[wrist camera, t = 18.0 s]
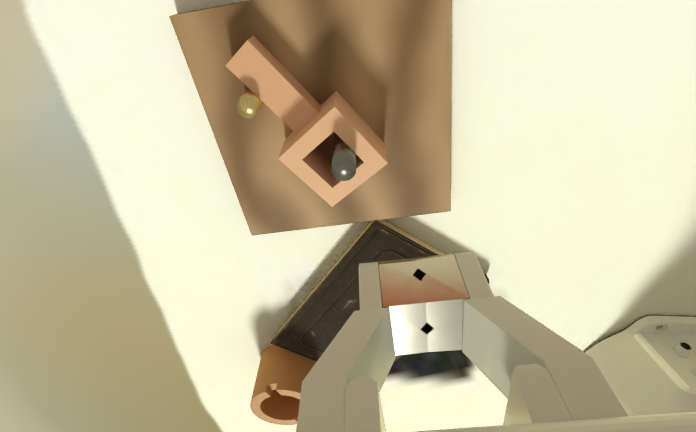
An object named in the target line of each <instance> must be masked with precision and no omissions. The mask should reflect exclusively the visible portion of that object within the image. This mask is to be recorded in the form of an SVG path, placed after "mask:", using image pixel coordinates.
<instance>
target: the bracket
mask: <svg viewBox="0 0 696 432" xmlns="http://www.w3.org/2000/svg"><path fill="white" fill-rule="evenodd" d="M316 362H317V361H314V360H312V359H309V358H307V357H304V356H301V355H299V354H296V353H294V352H291V351H288V350H286V349H283V348H281V347H278V346H275V345H272V346H270V347H268V348H267V349H265V350H264V352H263V353H262V356H261V360H260V364H259V369H258V373H257V378H256V382H255V386H254V391H253V395H252V400H251V405H250V406H251V410H252V412H253V413H254V414H255V415H256V416H257V417H259V418H260V419H262V420H264V421H267V422H270V423H274V424H280V425H294V424H297V421H298V413H299V404H300V396H301V387H302V381H303V380H304V379H305V377H306V376H307V375H308V373H309V372H310V370H311V369H312V368H313V366H314V365H315V364H316Z"/></svg>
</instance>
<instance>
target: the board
mask: <svg viewBox="0 0 696 432" xmlns="http://www.w3.org/2000/svg"><path fill="white" fill-rule="evenodd" d="M451 10H452V0H251V1H246V2H240V3H235V4H229V5H224V6H218V7H213V8H207V9H201V10H196V11H190V12H185V13H179V14H175V15H172V16H169V17H170V19H171V22H172V25H173V27H174V30H175V32H176V35H177V38H178V40H179V43H180V46H181V48H182V51H183V54H184V56H185V59H186V62H187V64H188V67H189V70H190V72H191V75H192V78H193V80H194V83H195V86H196V88H197V91H198V94H199V96H200V99H201V102H202V104H203V107H204V110H205V112H206V115H207V118H208V120H209V123H210V126H211V128H212V131H213V133H214V136H215V139H216V141H217V144H218V147H219V149H220V152H221V155H222V157H223V160H224V163H225V165H226V168H227V171H228V173H229V176H230V179H231V181H232V184H233V187H234V189H235V192H236V195H237V197H238V200H239V203H240V205H241V208H242V211H243V213H244V216H245V219H246V221H247V224H248V226H249V229H250V232H251V234H252V235H259V234H268V233H276V232H284V231H292V230H300V229H308V228H317V227H325V226H333V225H341V224H349V223H358V222H366V221H374V220H382V219H390V218H398V217H407V216H415V215H423V214H431V213H439V212H447V211H451ZM253 35H254V36H255V37H256V38H257V40H258V41H259V42H260V43H261V44H262V45H263V46H264V47H265V48H266V49H267V50H268V51H269V52H270V53H271V54H272V55H273V56H274V57H275V58H276V59H277V60H278V61H279V62H280V63H281V65H282V66H283V67H284V68H285V69H286V70H287V71H288V72H289V73H290V74H291V75H292V76H293V77H294V78H295V79H296V80H297V81H298V82H299V83H300V84H301V85H302V86H303V87H304V88H305V90H306V91H307V92H308V93H309V94H310V95H311V96H312V97H313V98H314V99H315V100H316V101H317V102H318V103H319V104H320V105H321V104H322V103H324V102H325V101H326V100H327V99H328V98H329V97H330V96H331V95H332V94H333V93H334V92H335V91H337V92H338V93H339V94H340V95H341V96H342V97H343V99H344V100H345V101H346V102H347V103H348V104H349V105H350V106H351V107H352V108H353V109H354V111H355V112H356V113H357V114H358V115H359V116H360V117H361V118H362V119H363V120H364V121H365V123H366V124H367V125H368V126H369V127H370V128H371V129H372V130H373V131H374V132H375V134H376V135H377V136H378V137H379V138H380V139H381V140H382V141H383V142H384V146H385V151H386V156H387V161H388V164H387V165H385V166H384V167H383V168H381V169H380V170H379V171H378V172H376V173H375V174H374V175H372V176H371V177H370V178H369V179H367V180H366V181H365V182H364V183H362V184H361V185H360V186H358V187H357V188H356V189H355V190H353V191H352V192H351V193H349V194H348V195H347V196H346V197H344V198H343V199H342V200H340V201H339V202H338V203H337V204H335V205H334V206H333V207H331V206H330V205H329V204H328V203H327V202H326V201H325V200H324V199H322V198H321V197H320V196H319V195H318V194H317V193H316V192H315V191H313V190H312V189H311V188H310V187H309V186H308V185H307V184H306V183H305V182H303V181H302V180H301V179H300V178H299V177H298V176H297V175H296V174H295V173H293V172H292V171H291V170H290V169H289V168H288V167H287V166H286V165H284V164H283V163H282V162H281V161H280V160H279V159H278V158H279V155H280V152H281V149H282V147H283V144H284V141H285V138H286V137H288V136H289V135H290V134H291V133H292V132H293V130H292V129H291V128H290V127H289V126H288V125H287V124H285V123H284V122H283V121H282V120H281V119H280V118H279V117H278V116H277V115H276V114H275V113H274V112H273V111H272V110H271V109H270V108H269V107H268V106H267V105H266V104H265V103H263V105H262V107H261V108H260V110H259V112H258V113H257V115H256V116H255V117H253V118H245V117H243V116H241V115H240V114H239V113H238V111H237V108H236V104H237V101H238V100H239V99H240V97H241V96H242V95H243V94H244V92H245V91H246V90H247V89H248V87H247V86H246V85H245V84H244V83H243V82H242V81H241V80H240V79H239V78H238V77H236V76H235V75H234V74H233V73H232V72H231V71H230V70H229V69H228V68H227V67H226V64H227V63H228V62H229V61H230V60H231V59H232V57H233V56H234V55H235V54H236V53H237V52H238V50H239V49H240V48H241V47H242V46H243V45H244V43H245V42H246V41H247V40H248V39H249V38H251V37H252V36H253ZM334 135H335V132H333V133H332V134H330V135H329V136H328V137H327V138H326V139H325V140H324V141H323V142H321V143H320V144H319V145H318V146H317V147H316V149H317V150H318V151H319V152H321V153H322V154H323V155H324V156H325V157H326V158H327V159H328V160H329V161H330V162H331V163H332V156H333V145H334Z"/></svg>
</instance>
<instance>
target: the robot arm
mask: <svg viewBox="0 0 696 432" xmlns="http://www.w3.org/2000/svg"><path fill="white" fill-rule="evenodd" d="M378 263H379V265H378ZM359 297H360V310H358V311H354V312H353V313H352V315H351V316H350V317H349V319H348V320H347V322H346V323H345V324H344V326H343V327H342V328H341V330H340V331H339V332H338V334H337V335H336V336H335V338H334V339H333V341H332V342H331V343H330V345H329V346H328V347H327V349H326V350H325V351H324V353H323V354H322V356H321V357H320V358H319V360H318V361H317V362H316V364H315V365H314V366H313V368H312V369H311V370H310V372H309V373H308V375H307V376H306V377H305V379H304V380H303V381H302V387H301V396H300V404H299V413H298V421H297V430H296V432H386V428H385V423H384V417H383V412H382V406H381V401H380V395H379V392H380V389H381V387H382V385H383V383H384V381H385V379H386V377H387V375H388V373H389V370H390V368H391V366H392V364H393V362H394V360H395V356H397V355H406V354H414V353H423V352H435V351H450V350H462V352H463V353H464V354H465V355H466V356H467V357H468V358H469V359H470V360H471V361H472V362H473V363H474V364H475V365H476V366H477V367H478V368H479V369H480V370H481V371H482V372H483V374H484V375H485V376H486V377H487V378H488V379H489V380H490V381H491V382H492V383H493V384H494V385H495V386H496V387H497V388H498V389H499V390H500V391H501V392H502V393H503V394H504V395H505V396H506V397H507V398H508V402H507V407H506V413H505V419H504V424H503V425H500V426H486V427H473V428H459V429H445V430H431V431H418V432H696V317H680V316H646V317H643V318H641V319H639V320H638V321H636V322H635V323H633V324H632V325H631V326H629V327H628V328H627V329H625V330H624V331H622V332H620V333H617V334H615V335H613V336H611V337H608V338H606V339H604V340H602V341H601V342H599V343H597V344H596V345H594V346H593V347H591V348H590V349H589V350H588V351H587V352H583V351H582V350H580V349H579V348H577V347H576V346H574V345H573V344H571V343H570V342H568V341H567V340H565V339H564V338H562V337H561V336H559V335H558V334H556V333H555V332H553V331H552V330H550V329H549V328H547V327H546V326H544V325H543V324H541V323H540V322H538V321H537V320H535V319H534V318H532V317H531V316H529V315H528V314H526V313H525V312H523V311H522V310H520V309H519V308H517V307H516V306H514V305H513V304H511V303H510V302H508V301H507V300H505V299H504V298H502V297H501V296H496V297H494V295H493V293H492V291H491V288H490V286H489V284H488V282H487V279H486V277H485V275H484V273H483V270H482V268H481V266H480V264H479V261H478V259H477V257H476V254H475V253H474V252H473V251H467V252H460V253H453V254H446V255H438V256H429V257H421V258H412V259H401V260H390V261H379V262H372V263H360V264H359Z"/></svg>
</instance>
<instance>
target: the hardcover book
mask: <svg viewBox="0 0 696 432" xmlns="http://www.w3.org/2000/svg"><path fill="white" fill-rule="evenodd" d="M438 255H446V254H444V253H443V252H441V251H439V250H437V249H435V248H434V247H432V246H430V245H428V244H426V243H425V242H423V241H421V240H419V239H417V238H416V237H414V236H412V235H410V234H408V233H407V232H405V231H403V230H401V229H400V228H398V227H396V226H394V225H392V224H391V223H389V222H387V221H385V220H383V219H382V220H374V221H371V222H370V223H369V224H368V225H367V227H366V228H365V229H364V230H363V231H362V232H361V234H360V235H359V236H358V237H357V238H356V240H355V241H354V242H353V243H352V244H351V245H350V247H349V248H348V249H347V250H346V251H345V253H344V254H343V255H342V256H341V257H340V258H339V260H338V261H337V262H336V263H335V264H334V266H333V267H332V268H331V269H330V270H329V271H328V273H327V274H326V275H325V276H324V277H323V279H322V280H321V281H320V282H319V283H318V284H317V286H316V287H315V288H314V289H313V290H312V292H311V293H310V294H309V295H308V296H307V297H306V299H305V300H304V301H303V302H302V303H301V305H300V306H299V307H298V308H297V309H296V310H295V312H294V313H293V314H292V315H291V316H290V318H289V319H288V320H287V321H286V322H285V323H284V325H283V326H282V327H281V328H280V329H279V331H278V332H277V333H276V336H275V338H274V339H273V340H272V342H271V344H273V345H275V346H278V347H281V348H283V349H286V350H288V351H291V352H294V353H296V354H299V355H301V356H304V357H307V358H309V359H312V360H314V361H318V360H319V358H320V357H321V356H322V354H323V353H324V351H325V350H326V349H327V347H328V346H329V345H330V343H331V342H332V341H333V339H334V338H335V336H336V335H337V334H338V332H339V331H340V330H341V328H342V327H343V326H344V324H345V323H346V322H347V320H348V319H349V317H350V316H351V315H352V313H353V312H354V311H358V310H360V297H359V264H360V263H372V262H379V261H390V260H401V259H412V258H421V257H429V256H438ZM378 265H379V263H378ZM485 277H486V279H487V282H488V284H489V279H488V277H487V275H486V274H485ZM401 356H402V355H397V356H395V360H394V362H395V361H396V360H397V359H398V358H400V357H401ZM394 362H393V363H394Z"/></svg>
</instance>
